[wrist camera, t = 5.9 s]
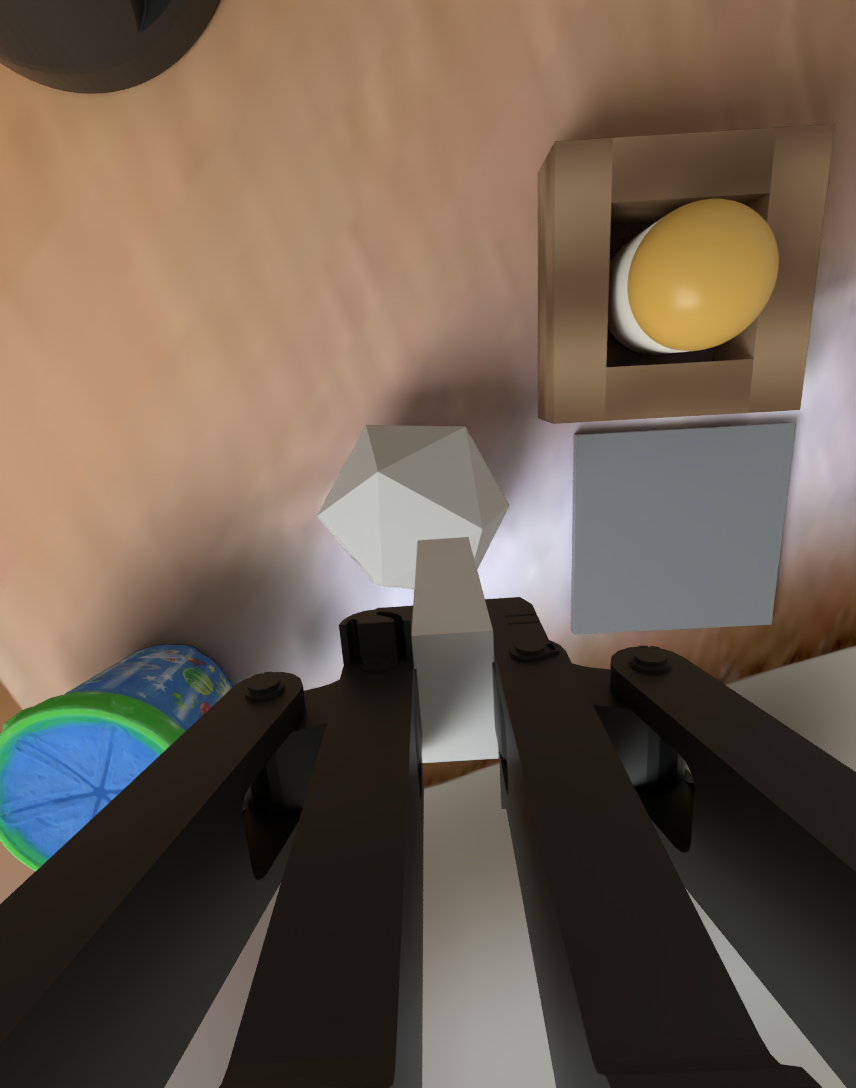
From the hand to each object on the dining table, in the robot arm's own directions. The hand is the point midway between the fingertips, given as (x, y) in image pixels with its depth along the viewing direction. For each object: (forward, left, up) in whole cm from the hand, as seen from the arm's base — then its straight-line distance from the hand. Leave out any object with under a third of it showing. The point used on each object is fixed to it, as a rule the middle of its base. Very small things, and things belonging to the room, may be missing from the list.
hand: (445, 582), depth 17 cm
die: (+1, -1, -17) cm, 17 cm away
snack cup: (+13, -17, -17) cm, 27 cm away
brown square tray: (-9, +12, -17) cm, 22 cm away
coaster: (+4, +14, -17) cm, 22 cm away
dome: (-9, +12, -16) cm, 22 cm away
